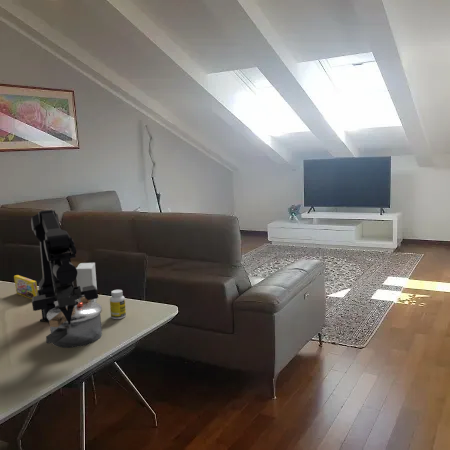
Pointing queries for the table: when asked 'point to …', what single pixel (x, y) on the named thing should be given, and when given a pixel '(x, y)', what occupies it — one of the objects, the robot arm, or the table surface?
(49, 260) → the robot arm
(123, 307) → the supplement bottle
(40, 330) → the table surface
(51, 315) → the lid
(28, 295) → the candy box
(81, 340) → the cooker pot
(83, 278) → the skincare box
